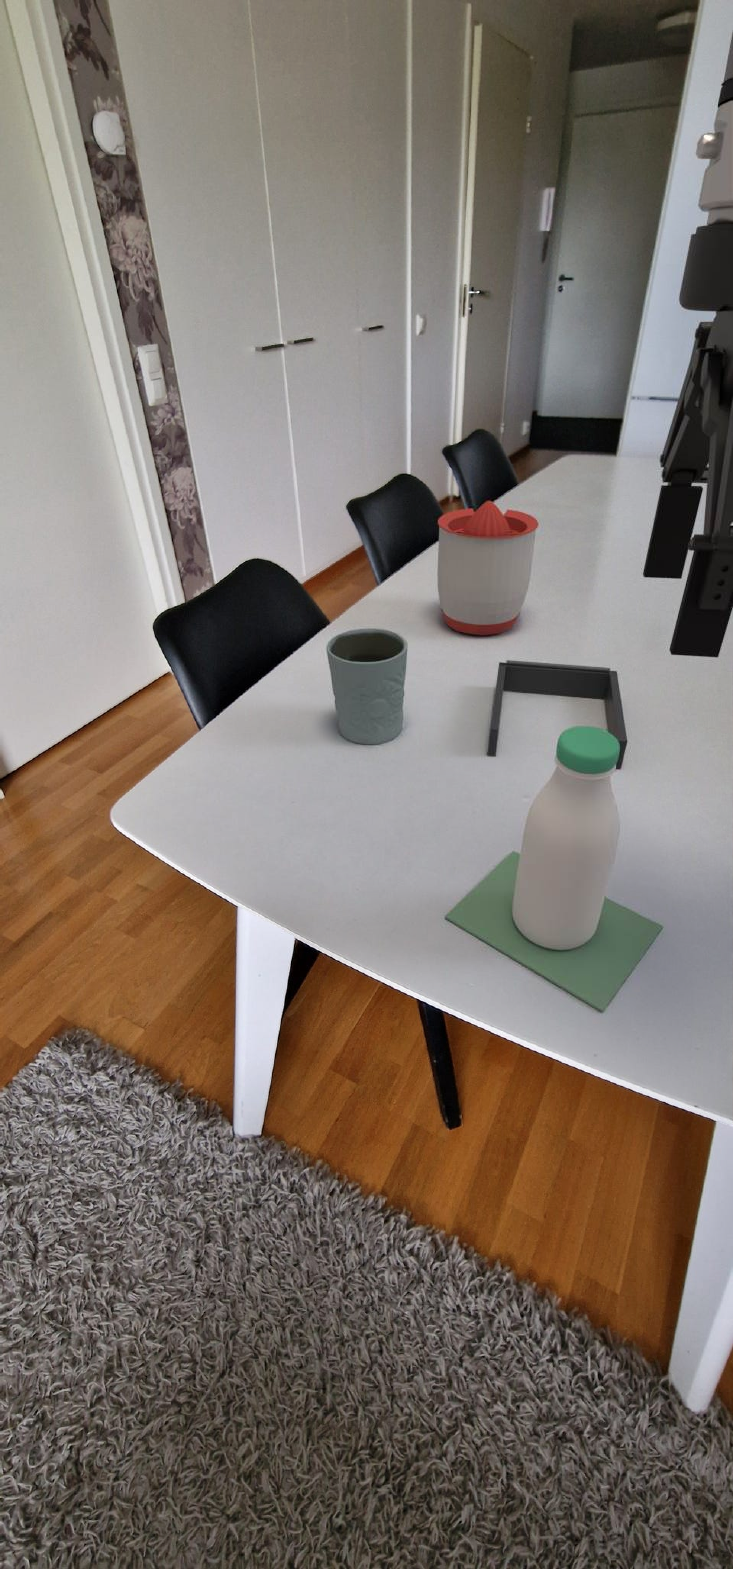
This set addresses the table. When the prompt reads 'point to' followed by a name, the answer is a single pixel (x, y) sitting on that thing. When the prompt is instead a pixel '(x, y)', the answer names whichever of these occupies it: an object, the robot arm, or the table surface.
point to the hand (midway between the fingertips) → (675, 611)
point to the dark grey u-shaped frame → (561, 692)
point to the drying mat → (577, 970)
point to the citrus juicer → (484, 567)
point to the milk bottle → (569, 843)
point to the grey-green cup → (368, 683)
